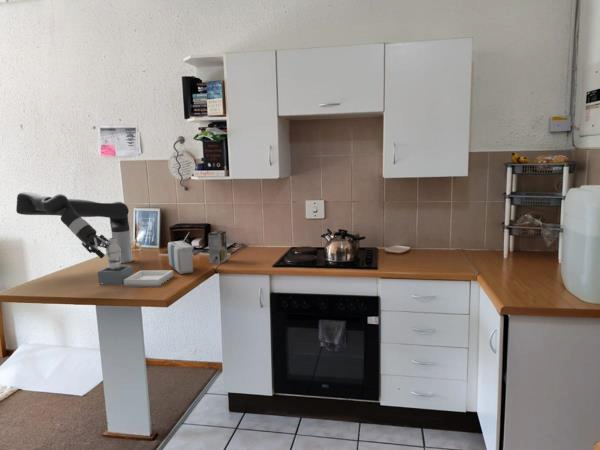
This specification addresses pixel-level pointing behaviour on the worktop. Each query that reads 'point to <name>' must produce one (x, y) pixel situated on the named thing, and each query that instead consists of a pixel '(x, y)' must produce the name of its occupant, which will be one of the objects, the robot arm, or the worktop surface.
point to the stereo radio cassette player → (180, 256)
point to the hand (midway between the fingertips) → (108, 254)
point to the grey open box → (114, 275)
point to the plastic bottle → (114, 255)
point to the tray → (148, 278)
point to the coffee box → (217, 247)
